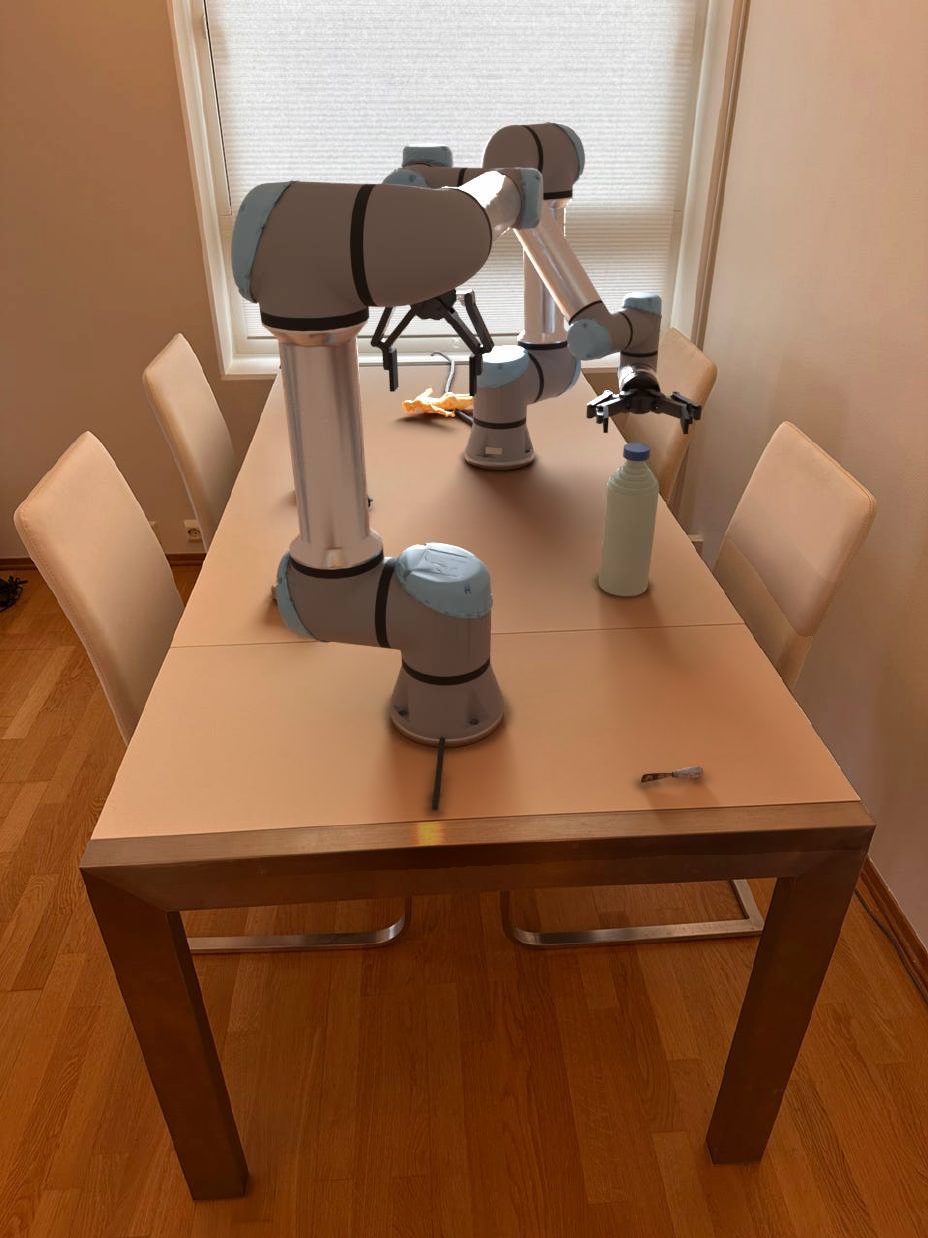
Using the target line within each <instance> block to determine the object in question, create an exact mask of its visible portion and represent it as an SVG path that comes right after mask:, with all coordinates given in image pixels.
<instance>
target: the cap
mask: <svg viewBox="0 0 928 1238" xmlns="http://www.w3.org/2000/svg"><path fill="white" fill-rule="evenodd" d="M650 456H651V446H650V445H648V444H646V443H642V442H629V443H626V444H623V451H622V457H623V458H624V459H625V460H626V459H627V460H631V461H645V462H646V461H647V460H649V459H650Z"/></svg>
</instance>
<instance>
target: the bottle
mask: <svg viewBox="0 0 928 1238" xmlns="http://www.w3.org/2000/svg"><path fill="white" fill-rule="evenodd" d="M659 493H660V484H659V481H658V479H657V478H656V477H655V474H654V473H653V472H652V469H651V468H650V467H649V465H648V463H647V462H646V460H645V461H631V460H627V459H625V461H623V463H622V465H620V466H619V467H618V469H617V470H615V471H614V473H613V474H612V475H611V476H610V477H609V480H608V481H607V483H606V493H605V506H604V516H603V529H602V539H601V540H602V541H601V550H600V551H601V552H600V563H599V575H598V585H599V587H600V589H601V590H602V591H604V592H605V593H608V594H610V595H614V596H617V597H618V596H619V597H635V596H639V595H641V594H643V593H645V592H646V591H647V589H648V585H649V577H650V570H651V569H650V567H651V561H652V551H653V543H654V536H655V535H654V534H655V529H656V527H655V526H656V520H657V519H656V518H657V510H658V502H659Z"/></svg>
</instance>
